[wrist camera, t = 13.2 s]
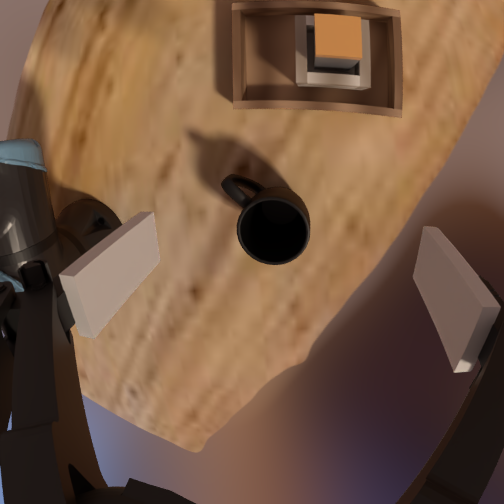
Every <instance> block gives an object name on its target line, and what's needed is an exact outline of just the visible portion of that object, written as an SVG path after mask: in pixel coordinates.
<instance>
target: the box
mask: <svg viewBox="0 0 504 504" xmlns="http://www.w3.org/2000/svg"><path fill="white" fill-rule="evenodd" d="M314 14H332V15H345V16H355V17H361V32H362V59H361V60H360V61H359V62H357V63H356V64H355V65H354V66H353V67H352V68H351V69H350V70H349V71H335V70H319V69H314V41H313V37H314ZM232 67H233V109H308V110H327V111H342V112H354V113H365V114H374V115H383V116H391V117H398V118H402V97H403V63H402V35H401V19H400V10H395V9H389V8H383V7H376V6H369V5H360V4H351V3H340V2H326V1H296V0H284V1H254V2H240V3H232Z"/></svg>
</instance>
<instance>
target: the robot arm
mask: <svg viewBox="0 0 504 504" xmlns="http://www.w3.org/2000/svg"><path fill="white" fill-rule="evenodd" d="M46 172H47V169H46V167H45V165H44V160H43V154H42V149H41V146H40V144H39V143H38V142H37V141H36V140H34V139H14V140H6V141H0V465H1V477H2V488H3V497H4V504H196V503H194V502H192V501H189V500H187V499H186V498H184V497H182V496H180V495H178V494H176V493H174V492H172V491H170V490H166V489H163V488H160V487H156V486H153V485H149V484H146V483H143V482H140V481H137V480H134V479H132V478H129V480H128V483H127V485H126V487H108V485H107V484H106V482H105V480H104V479H103V476H102V474H101V472H100V469H99V465H98V461H97V458H96V455H95V451H94V447H93V443H92V439H91V436H90V432H89V427H88V423H87V419H86V414H85V409H84V405H83V400H82V394H81V389H80V383H79V377H78V371H77V364H76V357H75V350H74V342H73V336H72V333H71V330H70V328H71V327H72V326H73V325H74V324H76V327H77V330H78V332H79V335H80V336H84V337H88V338H92V339H95V338H96V337H97V335H98V334H99V333H100V332H101V330H102V329H103V328H104V327H105V325H106V324H107V323H108V322H109V321H110V319H111V318H112V317H113V316H114V315H115V313H116V312H117V311H118V310H119V309H120V307H121V306H122V305H123V304H124V303H125V301H126V300H127V299H128V298H129V297H130V296H131V294H132V293H133V292H134V291H135V290H136V288H137V287H138V286H139V285H140V284H141V283H142V282H143V280H144V279H145V278H146V277H147V276H148V275H149V273H150V272H151V271H152V270H153V269H154V268H155V267H156V266H157V264H158V263H159V262H160V254H159V247H158V240H157V233H156V226H155V218H154V212H140V213H138V214H137V215H135V216H134V217H133V218H131V219H130V220H129V221H127V222H126V223H124V224H123V225H122V224H121V222H120V220H119V219H118V218H117V216H116V215H115V214H114V213H113V212H112V211H111V210H110V209H109V208H108V207H107V206H105V205H104V204H102V203H100V202H98V201H96V200H92V199H81V200H78V201H76V202H74V203H72V204H70V205H69V206H67V207H66V208H65V209H64V210H63V211H62V212H61V213H60V215H59V216H58V217H57V219H56V220H55V217H54V213H53V208H52V203H51V197H50V192H49V186H48V180H47V174H46ZM413 279H414V281H415V283H416V285H417V287H418V289H419V291H420V293H421V295H422V298H423V300H424V302H425V304H426V306H427V308H428V311H429V313H430V315H431V317H432V319H433V322H434V324H435V326H436V329H437V331H438V333H439V336H440V338H441V340H442V343H443V345H444V348H445V350H446V353H447V356H448V358H449V360H450V363H451V366H452V368H453V371H454V372H467V371H472V369H473V367H474V365H475V363H476V361H477V359H479V361H480V364H481V368H480V370H479V372H478V374H477V376H476V377H475V379H474V381H473V382H472V384H471V386H470V390H469V392H468V394H467V396H466V398H465V400H464V402H463V404H462V406H461V408H460V409H459V411H458V413H457V415H456V416H455V418H454V420H453V422H452V423H451V425H450V427H449V428H448V430H447V432H446V434H445V435H444V437H443V438H442V440H441V442H440V443H439V445H438V446H437V448H436V449H435V451H434V452H433V454H432V456H431V457H430V458H429V460H428V461H427V463H426V464H425V466H424V467H423V469H422V470H421V471H420V473H419V474H418V475H417V477H416V478H415V479H414V481H413V482H412V483H411V485H410V486H409V487H408V489H407V490H406V491H405V492H404V494H403V495H402V496H401V497H400V499H399V500H398V501H397V502H396V504H478V502H479V500H480V498H481V496H482V494H483V492H484V490H485V488H486V486H487V484H488V482H489V480H490V478H491V476H492V473H493V471H494V469H495V467H496V465H497V462H498V460H499V458H500V455H501V453H502V450H503V448H504V302H503V300H502V299H501V297H499V295H498V293H497V292H496V291H494V288H493V287H492V286H491V284H490V283H489V282H488V281H486V280H485V279H484V278H482V277H481V276H478V275H477V274H476V273H475V272H474V270H473V269H472V268H471V266H470V265H469V264H468V263H467V261H466V260H465V259H464V258H463V257H462V255H461V254H460V253H459V252H458V251H457V249H456V248H455V247H454V246H453V245H452V244H451V242H450V241H449V240H448V239H447V238H446V237H445V236H444V235H443V233H442V232H441V231H440V230H439V229H438V228H437V227H427V226H424V227H423V232H422V238H421V242H420V247H419V252H418V257H417V262H416V266H415V270H414V275H413ZM1 328H2V329H1ZM2 331H3V333H4V335H5V337H3V335H2ZM11 411H12V429H11V430H8V431H7V428H8V423H9V419H10V415H11Z"/></svg>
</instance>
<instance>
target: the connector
mask: <svg viewBox="0 0 504 504" xmlns="http://www.w3.org/2000/svg"><path fill="white" fill-rule="evenodd" d="M313 41H314V69H319V70H335V71H349V70H350V69H351V68H352V67H353V66H354V65H355V64H356V63H357V62H359V61H360V60H361V59H362V32H361V17H355V16H345V15H332V14H314V37H313Z"/></svg>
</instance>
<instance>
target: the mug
mask: <svg viewBox="0 0 504 504" xmlns="http://www.w3.org/2000/svg"><path fill="white" fill-rule="evenodd" d="M221 186H222V188H223V189H224V191H225V192H226V193H227V194H228V195H229V196H230V197H231V198H232V199H233V200H234V201H235V202H237V203H238V204H239V205H240V206H241V207H243V208H244V209H243V210H242V212H241V214H240V216H239V218H238V222H237V236H238V240H239V242H240V244H241V246H242V248H243V249H244V250H245V252H246V253H247V254H248V255H249V256H251V257H252V258H253V259H255V260H257V261H259V262H261V263H265V264H269V265H280V264H285V263H288V262H291V261H292V260H294V259H296V258H297V257H298V256H299V255H300V254H302V253H303V251H304V250H305V248H306V247H307V244H308V241H309V238H310V217H309V213H308V210H307V208H306V205H305V203H304V202H303V201H302V199H301V198H300V197H299V196H298V195H297V194H296V193H295V192H293V191H291V190H290V189H287V188H284V187H272V188H268V189H265V188H264V187H263V186H262V185H261V184H259V183H257V182H255V181H253V180H250V179H248V178H245V177H242V176H239V175H236V174H230V175H228V176H227V177H226V178H225V179H224V180H223V181H222V183H221ZM238 186H241V187H244V188H246V189H249V190H251V191H252V192H254V193H255V194H256V195H255V196H253V197H252V198H250V197H249V196H247V195H246V194H245V193H244V192H243V191H242V190H241V189H240V188H239V187H238Z"/></svg>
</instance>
